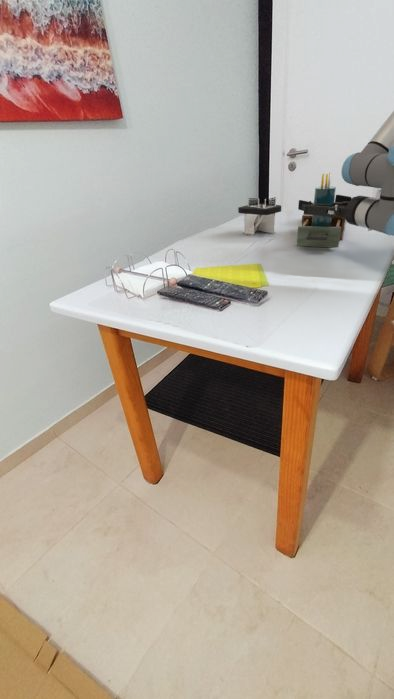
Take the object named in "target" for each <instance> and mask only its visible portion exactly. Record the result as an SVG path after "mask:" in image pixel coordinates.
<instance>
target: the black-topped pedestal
mask: <svg viewBox="0 0 394 699" xmlns="http://www.w3.org/2000/svg"><path fill="white" fill-rule="evenodd" d="M237 209H238V210H237V212H238V214H242V215H243V214H244V235H255V233H256V232H257V231H258V232H263V233H268V234H269V233H270V234H275V227H276V214H278V213H281V212H282V205H281V204H277V196H275V197H270V198H265V199H264V203H263V202H262V201H261V199H260V198H259V197H258V198H254V197H248V196H247V204H246V205H243V206H238V208H237Z"/></svg>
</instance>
